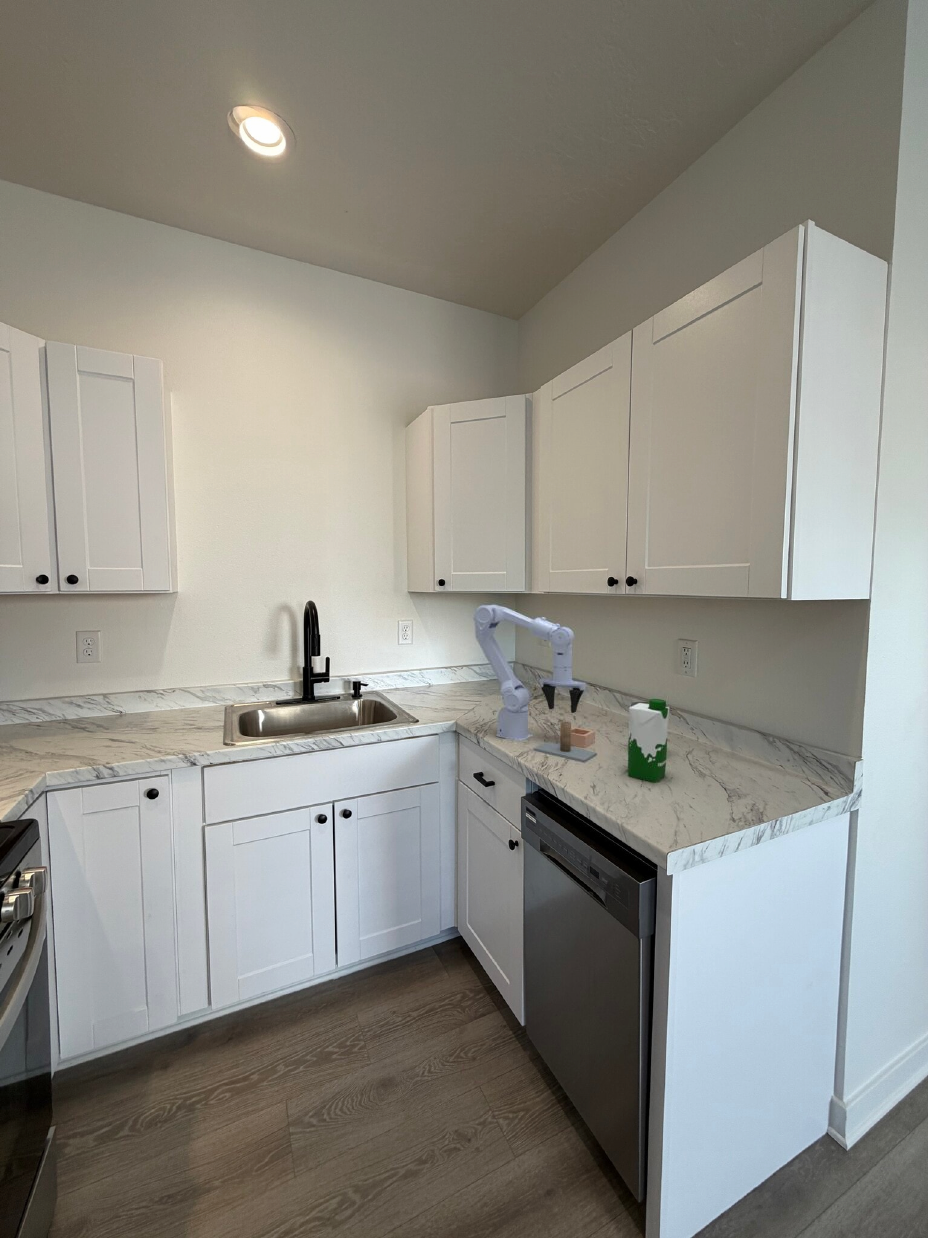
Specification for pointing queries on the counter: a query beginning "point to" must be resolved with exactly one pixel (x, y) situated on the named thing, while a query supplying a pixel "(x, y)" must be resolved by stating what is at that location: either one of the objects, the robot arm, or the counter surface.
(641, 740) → the milk carton
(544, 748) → the board
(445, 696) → the counter surface
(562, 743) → the peg
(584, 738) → the square hollow frame
